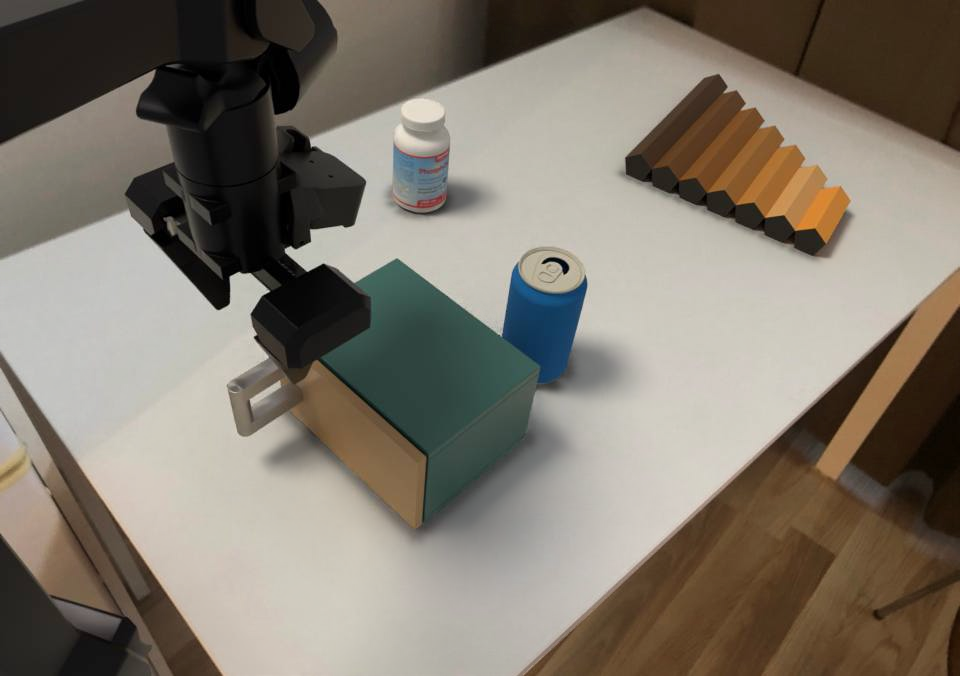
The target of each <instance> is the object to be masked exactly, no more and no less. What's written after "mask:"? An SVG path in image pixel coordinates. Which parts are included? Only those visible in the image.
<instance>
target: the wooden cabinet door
mask: <svg viewBox="0 0 960 676" xmlns="http://www.w3.org/2000/svg"><path fill="white" fill-rule="evenodd" d="M278 382H279V383H280V387H279V388H277V389H276V390H275V391H273V392H270V393H269V394H267V395H266V396H265V397H263V398H262V399H260V400H259V401H257V402H255V403H254V404H251V399H253V398H254V397H256V396H257V395H259V394H261V393H263V392H264V391H266V390H267V389H268V388H271V386H273V385H275V384H276V383H278ZM226 388H227V394H228V397H229V402H230V406H231V411H232V415H233V421H234V424H235V429H236V432H237V434H238V436H240V437H242V438H248V437H251V436H253V435H254V434H255V433H257V432H258V431H260V430H261V429H263V428H265V427H266V426H267V425H269V424H270V423H272V422H273V421H275V420H277V419H278V418H279V417H281V416H283V415H284V414H286V413H287V412H290V413H291V414H292V415H294V416H295V418H297V419H298V420H299V421H300V422H301V423H302V424H303V425H304V426H305V427H306V428H307V429H308V430H309V431H311V432H312V434H314V435H315V436H316V437H317V438H318V440H320V441H321V442H322V443H323V444H324V445H325V446H326V447H327V448H328V449H329V450H330V451H332V453H333V454H334V455H336V457H338V458H339V459H340V460H341V462H343V463H344V464H345V466H347V467H348V468H349V469H350V470H351V471H352V472H353V473H354V474H355V475H356V476H358V478H359V479H361V481H362V482H364V484H366V486H368V488H370V489H371V490H372V491H373V492H374V493H375V494H376V495H377V496H378V497H379V498H380V499H382V500H383V501H384V502H385V503H386V504H387V505H388V506H389V507H390V508H391V509H392V510H393V511H394V512H396V514H397V515H398V516H399V517H401V518H402V519H403V520H404V521H405V523H407V524H408V525H409V526H410V527H411V528H412V529H413V530H415V531H416V530H417V529H418V528H419V527H420V526H422V524H423V521H422V514H423V499H424V484H425V470H426V456H425V455H423V454H422V453H421V452H420V451H419V450H418V449H417V448H416V447H414V446H413V445H412V444H411V443H410V442H409V441H408V440H407V439H406V438H404V437H403V436H402V435H401V434H400V433H399V432H398V431H397V430H395V429H394V428H393V427H392V426H391V425H390V424H389V423H388V422H386V421H385V420H384V419H383V418H382V417H381V416H380V415H379V414H377V413H376V412H375V411H374V410H373V409H372V408H371V407H370V406H368V405H367V404H366V403H365V402H364V401H363V400H362V399H361V398H359V397H358V396H357V395H356V394H355V393H354V392H353V391H352V390H350V389H349V388H348V387H347V386H346V385H345V384H344V383H343V382H341V381H340V380H339V379H338V378H337V377H336V376H335V375H334V374H333V373H331V372H330V371H329V370H328V369H327V368H326V367H325V366H324V365H322V364H321V363H320V362H319V361H318V360H316V361H314V362H313V363H312V366H311V368H310V370H309V372H308V374H307V376H306V378H305V379H303V380H301V381H300V382H298V383H297V384H295V385H293V384H292V383H291V382H290V381H289V380H288V379H287V378H286V377H285V375H284V374H283V373H282V372H281V371H280V370H279V368H278V367H277V366H276V365H275V363H274V362H273V361H272V360H271V359H270V357H268V358H266V359H265V360H263V361H261V362H260V363H257V364H256V365H255V366H253V367H251V368H249V369H248V370H246V371H245V372H243V373H241V374H240V375H239V376H237V377H234V378H233V379H231V380H229V382H228V383H227V385H226Z"/></svg>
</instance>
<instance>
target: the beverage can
mask: <svg viewBox="0 0 960 676" xmlns="http://www.w3.org/2000/svg"><path fill="white" fill-rule="evenodd" d="M588 285H589V284H588V278H587V275H586V268H585V265H584V263H583V262H582V260H581V259H580V258H579V257H578V256H577V255H576V254H574V253H573V252H571V251H569V250H567V249H565V248H561V247H559V246H558V247H557V246H551V245H542V246H536V247H533V248H530V249H528V250H527V251H525V252H524V253H523V254H522V255H521V257H520V258H519V261H518V262H517V263H516V264H515V265H514V267H513V268H512V271H511V276H510V282H509V287H508V295H507V301H506V307H505V314H504V318H503V319H504V320H503V324H502V325H503V326H502V332H501V337H502V338H504V339H505V340H506V341H508V342H509V343H510V344H512V345H513V346H514V347H516V348H517V349H518V350H520V351H521V352H522V353H524V354H525V355H526V356H528V357H529V358H530V359H532V360H533V361H534V362H536V363H537V364H538V365H540V372H539V377H538V381H537V385H543V384H544V385H545V384H548V383H552V382H554V381H556V380H558V379H559V378H560V377H562V375H564V373H565V372H566V370H567V368H568V364H569V361H570V357H571V353H572V349H573V345H574V341H575V337H576V334H577V330H578V326H579V322H580V319H581V314H582V310H583V306H584V302H585V299H586V295H587V291H588Z"/></svg>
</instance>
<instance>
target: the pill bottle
mask: <svg viewBox="0 0 960 676" xmlns="http://www.w3.org/2000/svg"><path fill="white" fill-rule="evenodd" d="M399 120H400V123H399V124H398V125H396V127H395V129H394V132H393V143H392V144H393V145H392V146H393V147H392V150H393V151H392V197H393V198H392V199H393V200H394V201H395V203H396V204H397V205H398V206H400V207H401V208H403V209H405V210H408V211H410V212H414V213H419V214H420V213H421V214H425V213H430V212H434V211H436V210H438V209H440V208H441V207H442V206H443V205H444V204H445V202H446V200H447V192H448V178H449V164H450V152H451V151H450V150H451V135H450V132H449V130H448V129H447V127H446V126H445V123H446V109H445V107H444V106H443V105H442V104H441V103H439V102H437V101H436V100H433V99H429V98H414V99H410V100H408V101H406V102H405V103H403V104H402V106H401V108H400V118H399Z"/></svg>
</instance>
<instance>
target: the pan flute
mask: <svg viewBox="0 0 960 676" xmlns="http://www.w3.org/2000/svg"><path fill="white" fill-rule="evenodd" d="M728 88H729V86H728V85H727V82H726V81H725V80H724V78H723V77H722V75H721V74H720V73H716V74H712V75H709V76H706V77H704V78H702V79H701V80H700V81H699V82H698V83H697V85H695V86H694V87H693V88H692V89H691V90H690V91H689V93H687V95H685V97H683V98H682V100H681V101H679V103H678V104H676V105H675V106H674V107H673V109H671V111H669V113H668V114H666V115H665V116H664V117H663V118H662V119H661V120H660V121H659V123H658V124H657V125H656V126H655V127H653V128H652V130H651V131H650V132H649V133H648V134H647V135H646V136H645V137H644V138H642V140H640V142H639V143H638V144H637V145H636V146H635V147H634V148H633V149H632V150H631V151H630V152H629V153H627V155H626V156H625V157H624V162H625V175H627V176H630V177H632V178H634V179H636V180H639V181H641V182H643V181H644V180H645V179H647V177H648V176H649V175H650V174H651V184H652V187H655V188H657V189H659V190H662V191H663V192H666V193H668V194H670V192H671V191H673V189H674V188H675V187H676V186H677V185H678V196H679V198H680V199H682V200H684V201H687V202H689V203H691V204H693V205H695V206H696V205H698V204H699V203H700V201H701V200H702V199H703V198H704V197H705V196H706V210H707V211H709V212H712V213H714V214H716V215H719V216H721V217H723V218H725V217H726V216H727V215H728V214H729V213H730V212H731V211H732V210H733V208H735V214H734V215H735V216H734V222H735V223H737V224H739V225H742V226H744V227H746V228H749V229H751V230H754V229H755V228H757V226H759V225H760V224H761V223H762V221H763V220H764V235H765V236H767V237H769V238H770V239H774V240H776V241H778V242H781V243H784V242H785V241H786V240H787V239H788V238H789V237H790V236H792V234H793V233H794V242H793V244H794V246H793V248H794V249H796V250H799V251H801V252H803V253H806V254H808V255H809V256H813V257H814V255H816V254H817V253H818V252H819V251H820V250H821V249H823V248H824V247H825V246H826V245H827V243H828V242H829V240H830V238H831V237H832V236H833V233H834V231H835V230H836V228H837V226H838V225H839V223H840V221H841V219H842V217H843V215H844V214H845V212H846V210H847V208H848V207H849V205H850V203H851V202H852V200H851V199H850V198H849V195H848V194H847V193H846V191H845V190H844V188H843V187H842V185H836V186H830V187H825V188H824V186H825V184H826V182H827V181H828V178H827V176H826V175H825V173H824V172H823V170H822V169H821V167H820V165H819V164H813V165H807V166H802V165H803V163H804V162H805V160H806V157H805V155H804V154H803V153H802V151H801V150H800V148H799V147H798V146H797V144H790V145H785V146H781V145H782V144H783V142H784V141H785V139H786V138H784V135H782V133H781V132H780V131H779V129H778V127H777V126H776V125H771V126H766V127H761V126H762V125H763V124H764V123H765V118H763V115H761V113H760V112H759V111H758V108H756V107H750V108H746V109H743V108H744V107H745V105H746V104H747V102H746V101H745V100H744V98H743V97H742V95H741V94H740V92H739V91H738V90H737V89H735V90H731V91H727V92H726V90H727V89H728ZM780 146H781V147H780ZM801 166H802V167H801Z"/></svg>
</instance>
